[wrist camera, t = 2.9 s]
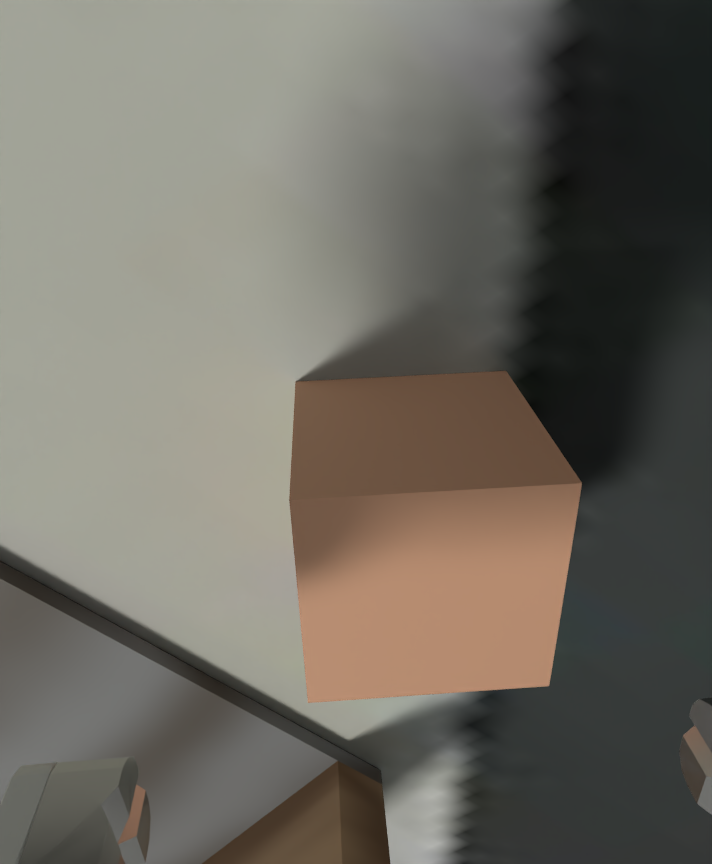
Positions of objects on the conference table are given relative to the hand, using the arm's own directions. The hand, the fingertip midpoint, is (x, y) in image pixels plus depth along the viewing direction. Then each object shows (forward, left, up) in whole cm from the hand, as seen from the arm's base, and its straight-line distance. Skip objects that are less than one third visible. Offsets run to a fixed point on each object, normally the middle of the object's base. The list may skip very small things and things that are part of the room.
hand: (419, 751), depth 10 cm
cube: (-1, -1, -8) cm, 8 cm away
